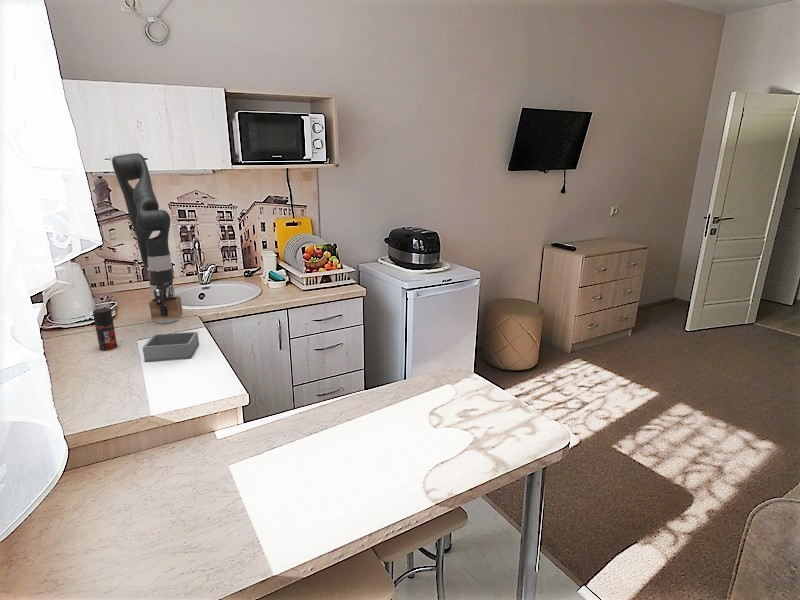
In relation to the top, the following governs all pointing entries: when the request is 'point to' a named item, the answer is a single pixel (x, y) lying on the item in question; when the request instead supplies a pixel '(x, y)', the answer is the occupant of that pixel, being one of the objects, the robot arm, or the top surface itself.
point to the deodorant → (105, 329)
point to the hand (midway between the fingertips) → (167, 313)
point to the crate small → (172, 307)
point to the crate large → (171, 346)
